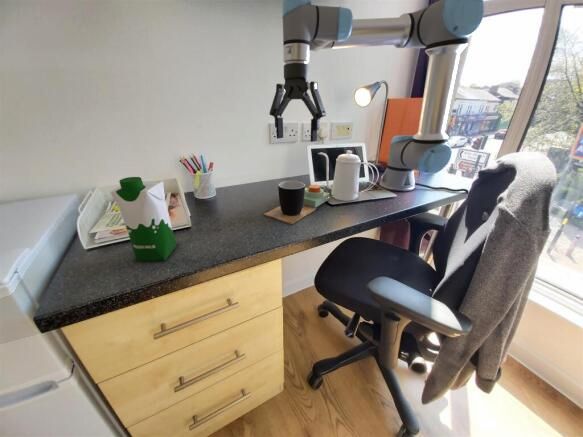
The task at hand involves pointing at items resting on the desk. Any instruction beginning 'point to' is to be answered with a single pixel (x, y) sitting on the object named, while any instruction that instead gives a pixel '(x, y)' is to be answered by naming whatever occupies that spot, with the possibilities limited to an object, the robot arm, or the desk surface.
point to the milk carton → (145, 218)
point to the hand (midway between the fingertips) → (296, 139)
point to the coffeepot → (346, 176)
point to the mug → (291, 197)
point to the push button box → (315, 198)
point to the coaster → (280, 216)
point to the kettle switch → (314, 188)
